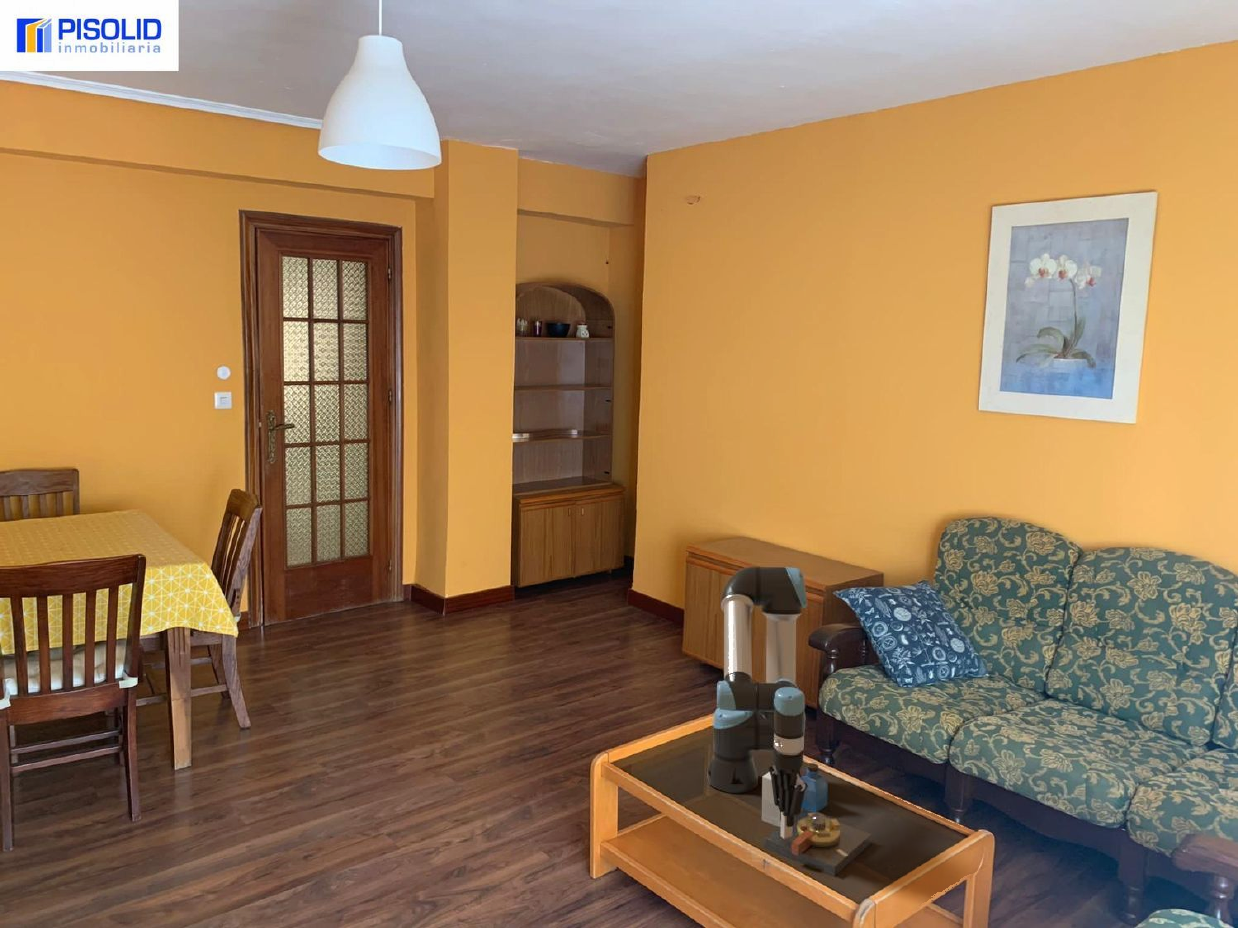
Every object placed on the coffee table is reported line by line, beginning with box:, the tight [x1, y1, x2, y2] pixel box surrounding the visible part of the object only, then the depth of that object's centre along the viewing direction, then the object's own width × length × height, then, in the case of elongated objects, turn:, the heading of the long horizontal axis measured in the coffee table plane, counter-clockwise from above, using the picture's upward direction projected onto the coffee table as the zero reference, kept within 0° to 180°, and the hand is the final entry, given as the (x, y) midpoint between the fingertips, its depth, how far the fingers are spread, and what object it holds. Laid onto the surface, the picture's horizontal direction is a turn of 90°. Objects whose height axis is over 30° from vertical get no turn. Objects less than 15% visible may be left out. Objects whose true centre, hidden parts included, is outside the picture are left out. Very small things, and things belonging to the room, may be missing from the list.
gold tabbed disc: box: [791, 813, 840, 856], centre depth 240 cm, size 18×11×4 cm, turn 139°
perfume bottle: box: [801, 762, 829, 813], centre depth 263 cm, size 6×6×12 cm
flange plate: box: [764, 809, 872, 877], centre depth 243 cm, size 20×20×8 cm
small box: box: [761, 771, 781, 828], centre depth 256 cm, size 8×6×13 cm
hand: (786, 835), depth 241 cm, fingers closed
